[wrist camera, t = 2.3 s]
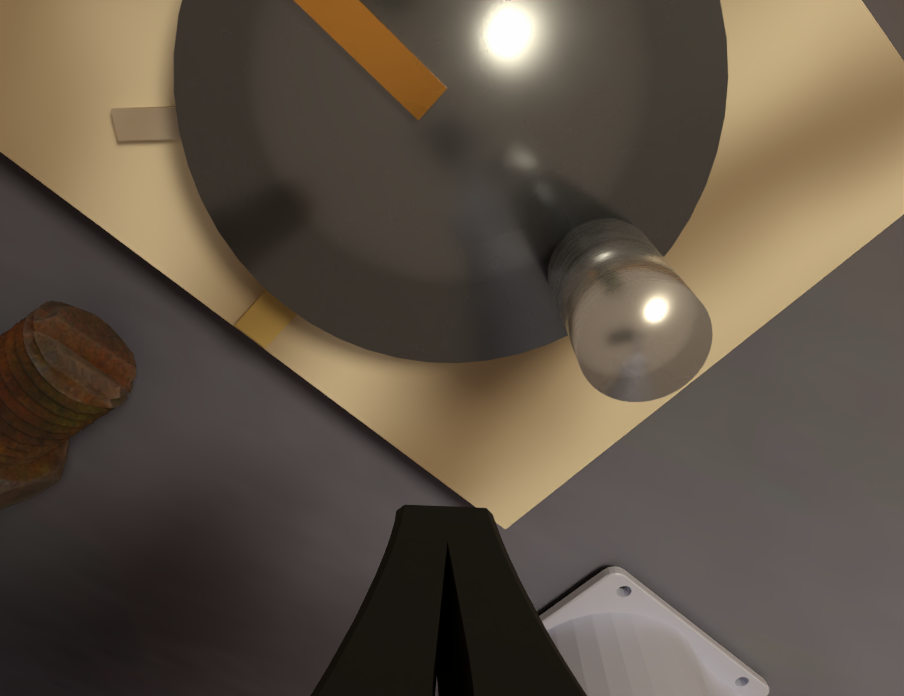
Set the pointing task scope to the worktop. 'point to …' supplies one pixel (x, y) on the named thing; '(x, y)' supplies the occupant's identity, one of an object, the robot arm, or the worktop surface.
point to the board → (513, 377)
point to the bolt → (54, 392)
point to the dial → (464, 170)
